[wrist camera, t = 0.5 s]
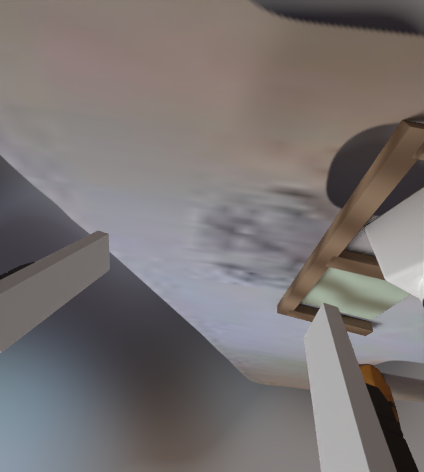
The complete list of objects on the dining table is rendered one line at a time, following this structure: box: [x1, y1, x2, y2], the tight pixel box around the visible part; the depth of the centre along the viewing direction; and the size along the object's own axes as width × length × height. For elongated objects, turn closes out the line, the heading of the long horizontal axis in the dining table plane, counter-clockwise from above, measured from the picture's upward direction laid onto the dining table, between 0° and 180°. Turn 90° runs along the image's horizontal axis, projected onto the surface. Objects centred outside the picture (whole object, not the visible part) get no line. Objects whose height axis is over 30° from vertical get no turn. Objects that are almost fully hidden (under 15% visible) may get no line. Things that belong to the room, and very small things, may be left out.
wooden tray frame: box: [277, 120, 424, 336], centre depth 26 cm, size 30×14×2 cm, turn 174°
